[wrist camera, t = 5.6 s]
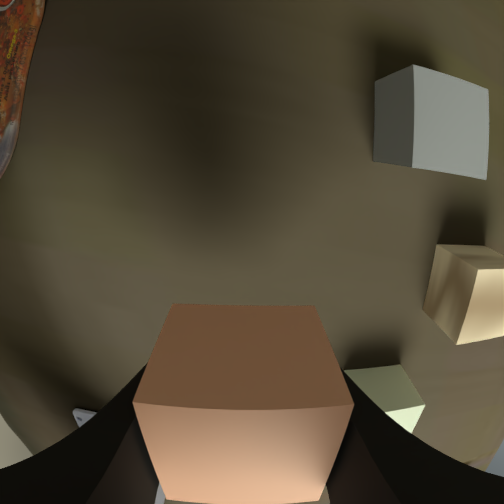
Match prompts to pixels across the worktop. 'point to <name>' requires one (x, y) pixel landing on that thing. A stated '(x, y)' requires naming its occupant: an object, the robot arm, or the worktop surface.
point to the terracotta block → (243, 404)
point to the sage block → (391, 393)
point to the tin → (15, 66)
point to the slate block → (431, 122)
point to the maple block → (466, 292)
